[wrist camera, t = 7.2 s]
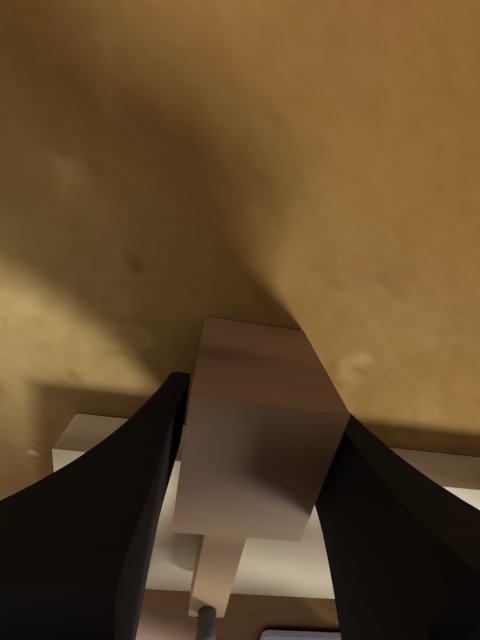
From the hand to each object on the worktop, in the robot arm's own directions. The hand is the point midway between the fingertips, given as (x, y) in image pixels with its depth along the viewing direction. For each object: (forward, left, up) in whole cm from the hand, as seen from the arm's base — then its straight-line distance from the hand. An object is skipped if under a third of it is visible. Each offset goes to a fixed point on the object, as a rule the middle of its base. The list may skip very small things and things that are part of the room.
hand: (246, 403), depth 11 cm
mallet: (-4, 0, -2) cm, 4 cm away
